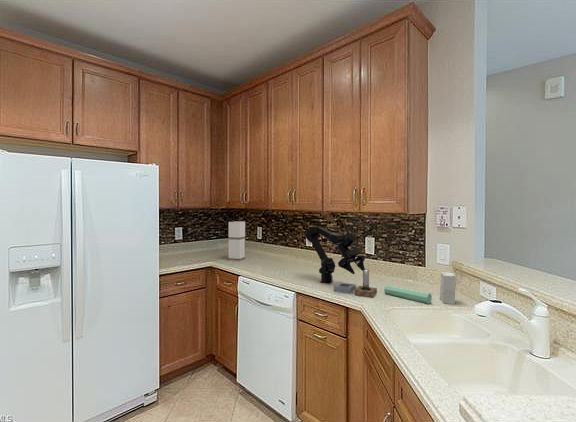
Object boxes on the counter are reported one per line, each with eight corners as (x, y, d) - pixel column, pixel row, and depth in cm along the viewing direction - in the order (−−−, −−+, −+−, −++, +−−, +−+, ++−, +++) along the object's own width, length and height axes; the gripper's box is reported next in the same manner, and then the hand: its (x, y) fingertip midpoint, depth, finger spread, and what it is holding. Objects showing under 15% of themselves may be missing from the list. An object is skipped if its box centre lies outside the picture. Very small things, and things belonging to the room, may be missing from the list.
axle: (362, 294, 169) (362, 270, 169) (363, 293, 172) (363, 268, 172) (368, 295, 168) (368, 270, 167) (369, 293, 171) (369, 269, 170)
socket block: (333, 291, 176) (333, 286, 176) (339, 287, 184) (339, 282, 184) (350, 293, 171) (350, 288, 171) (355, 289, 180) (355, 284, 180)
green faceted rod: (383, 283, 172) (428, 291, 153) (388, 285, 175) (432, 294, 157) (381, 293, 170) (426, 303, 152) (386, 295, 174) (430, 305, 155)
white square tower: (245, 259, 278) (245, 221, 278) (239, 261, 268) (239, 222, 267) (234, 258, 282) (234, 221, 281) (228, 260, 272) (228, 221, 271)
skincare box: (439, 298, 163) (439, 271, 162) (451, 299, 161) (452, 272, 161) (442, 303, 155) (443, 274, 154) (455, 304, 153) (456, 275, 153)
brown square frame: (354, 295, 168) (354, 290, 168) (359, 290, 177) (359, 285, 177) (372, 297, 163) (372, 292, 163) (376, 293, 172) (376, 288, 172)
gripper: (341, 244, 172) (356, 266, 163) (363, 242, 183) (377, 262, 174) (332, 256, 178) (345, 278, 170) (353, 253, 189) (367, 273, 181)
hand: (359, 272), depth 173 cm, fingers open, 9 cm apart
